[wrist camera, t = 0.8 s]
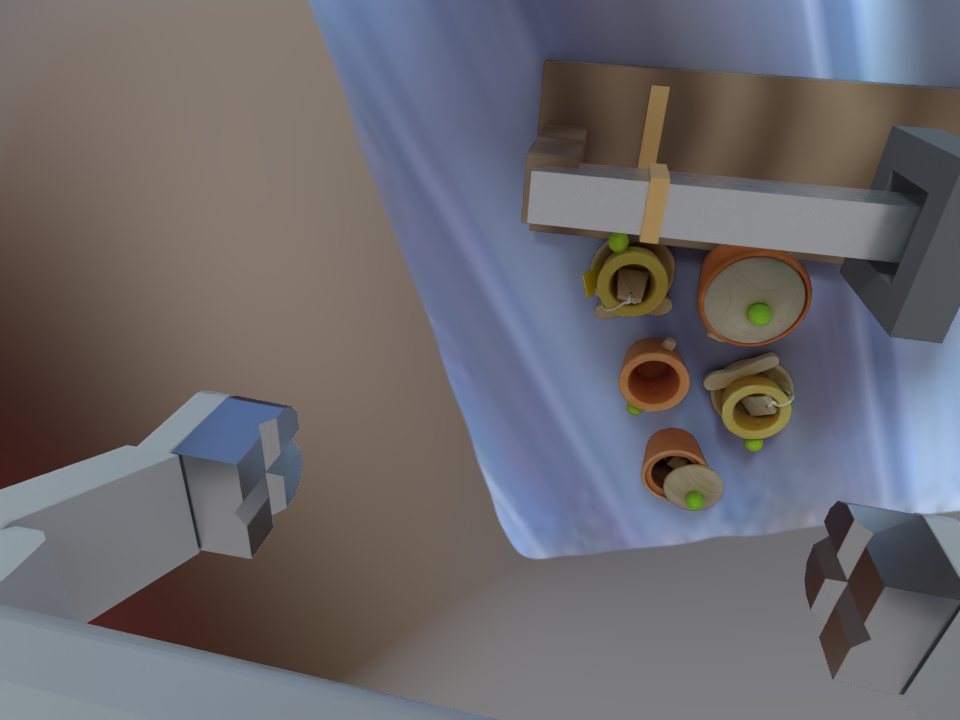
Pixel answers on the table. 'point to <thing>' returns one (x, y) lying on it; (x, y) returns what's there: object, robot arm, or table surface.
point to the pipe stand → (725, 159)
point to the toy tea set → (729, 318)
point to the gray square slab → (917, 239)
